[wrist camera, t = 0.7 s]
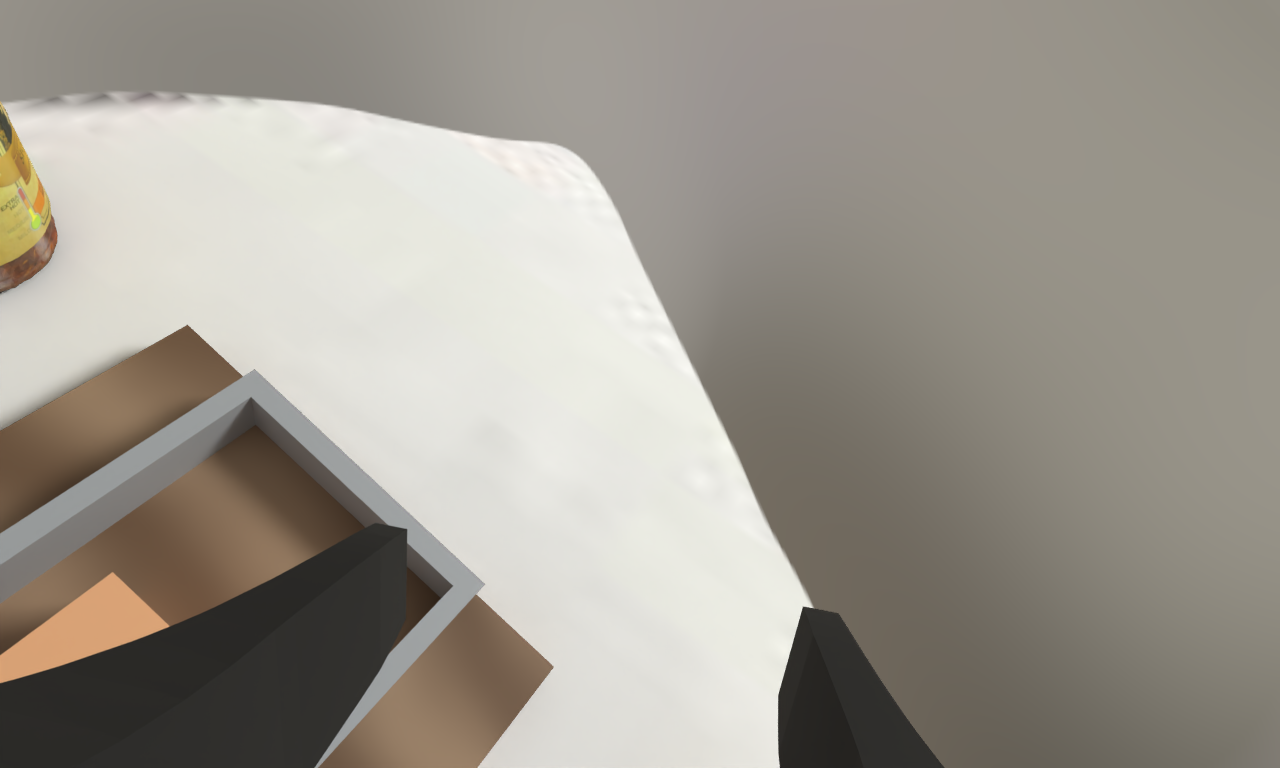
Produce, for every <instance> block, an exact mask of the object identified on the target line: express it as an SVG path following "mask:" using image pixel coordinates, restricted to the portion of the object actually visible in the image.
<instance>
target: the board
mask: <svg viewBox="0 0 1280 768" xmlns="http://www.w3.org/2000/svg"><path fill="white" fill-rule="evenodd" d="M242 377H243V376H242V375H241V374H240V373H239V372H237V371H236V370H235V369H234V368H233V367H232V366H231V365H230V364H229V363H228V362H227V361H226V360H225V359H224V358H222V357H221V356H220V355H219V354H218V353H217V352H216V351H215V350H214V349H213V348H212V347H211V346H210V345H209V344H207V343H206V342H205V341H204V340H203V339H202V338H201V337H200V336H199V335H198V334H197V333H196V332H195V331H194V330H192V329H191V328H190V327H189V326H188V325H187V326H185V327H183V328H181V329H179V330H178V331H176V332H174V333H172V334H171V335H169V336H167V337H165V338H164V339H162V340H160V341H158V342H156V343H155V344H153V345H151V346H149V347H148V348H146V349H144V350H142V351H141V352H139V353H137V354H135V355H134V356H132V357H130V358H128V359H126V360H125V361H123V362H121V363H119V364H118V365H116V366H114V367H112V368H111V369H109V370H107V371H105V372H104V373H102V374H100V375H98V376H96V377H95V378H93V379H91V380H89V381H88V382H86V383H84V384H82V385H81V386H79V387H77V388H75V389H73V390H72V391H70V392H68V393H66V394H65V395H63V396H61V397H59V398H58V399H56V400H54V401H52V402H51V403H49V404H47V405H45V406H43V407H42V408H40V409H38V410H36V411H35V412H33V413H31V414H29V415H28V416H26V417H24V418H22V419H20V420H19V421H17V422H15V423H13V424H12V425H10V426H8V427H6V428H5V429H3V430H1V431H0V533H2V532H3V531H5V530H6V529H8V528H10V527H11V526H13V525H14V524H16V523H17V522H19V521H20V520H22V519H24V518H25V517H27V516H28V515H30V514H31V513H33V512H34V511H36V510H37V509H39V508H41V507H42V506H44V505H45V504H47V503H48V502H50V501H51V500H53V499H54V498H56V497H58V496H59V495H61V494H62V493H64V492H65V491H67V490H68V489H70V488H72V487H73V486H75V485H76V484H78V483H79V482H81V481H82V480H84V479H85V478H87V477H89V476H90V475H92V474H93V473H95V472H96V471H98V470H99V469H101V468H102V467H104V466H106V465H107V464H109V463H110V462H112V461H113V460H115V459H116V458H118V457H120V456H121V455H123V454H124V453H126V452H127V451H129V450H130V449H132V448H133V447H135V446H137V445H138V444H140V443H141V442H143V441H144V440H146V439H147V438H149V437H151V436H152V435H154V434H155V433H157V432H158V431H160V430H161V429H163V428H164V427H166V426H168V425H169V424H171V423H172V422H174V421H175V420H177V419H178V418H180V417H181V416H183V415H185V414H186V413H188V412H189V411H191V410H192V409H194V408H195V407H197V406H199V405H200V404H202V403H203V402H205V401H206V400H208V399H209V398H211V397H212V396H214V395H216V394H217V393H219V392H220V391H222V390H223V389H225V388H226V387H228V386H229V385H231V384H233V383H234V382H236V381H237V380H239V379H240V378H242ZM364 528H366V527H364V526H363V525H362V524H361V523H360V522H359V521H358V520H357V519H356V518H355V517H354V516H353V515H352V514H351V513H349V512H348V511H347V510H346V509H345V508H344V507H343V506H342V505H341V504H340V503H339V502H338V501H337V500H336V499H335V498H333V497H332V496H331V495H330V494H329V493H328V492H327V491H326V490H325V489H324V488H323V487H322V486H321V485H320V484H318V483H317V482H316V481H315V480H314V479H313V478H312V477H311V476H310V475H309V474H308V473H307V472H306V471H305V470H304V469H302V468H301V467H300V466H299V465H298V464H297V463H296V462H295V461H294V460H293V459H292V458H291V457H290V456H289V455H287V454H286V453H285V452H284V451H283V450H282V449H281V448H280V447H279V446H278V445H277V444H276V443H275V442H274V441H272V440H271V439H270V438H269V437H268V436H267V435H266V434H265V433H264V432H263V431H262V430H261V429H260V428H259V427H258V426H256V425H255V426H253V427H252V428H250V429H249V430H247V431H246V432H245V433H243V434H242V435H240V436H239V437H237V438H236V439H235V440H233V441H232V442H230V443H229V444H227V445H226V446H225V447H223V448H222V449H220V450H219V451H217V452H216V453H215V454H213V455H212V456H210V457H209V458H207V459H206V460H205V461H203V462H202V463H200V464H199V465H197V466H196V467H195V468H193V469H192V470H190V471H189V472H187V473H186V474H185V475H183V476H182V477H180V478H179V479H177V480H176V481H175V482H173V483H172V484H170V485H169V486H167V487H166V488H165V489H163V490H162V491H160V492H159V493H157V494H156V495H155V496H153V497H152V498H150V499H149V500H147V501H146V502H145V503H143V504H142V505H140V506H139V507H137V508H136V509H135V510H133V511H132V512H130V513H129V514H127V515H126V516H125V517H123V518H122V519H120V520H119V521H117V522H116V523H115V524H113V525H112V526H110V527H109V528H107V529H106V530H105V531H103V532H102V533H100V534H99V535H97V536H96V537H95V538H93V539H92V540H90V541H89V542H87V543H86V544H85V545H83V546H82V547H80V548H79V549H77V550H76V551H75V552H73V553H72V554H70V555H69V556H67V557H66V558H65V559H63V560H62V561H60V562H59V563H57V564H56V565H55V566H53V567H52V568H50V569H49V570H47V571H46V572H45V573H43V574H42V575H40V576H39V577H37V578H36V579H35V580H33V581H32V582H30V583H29V584H27V585H26V586H25V587H23V588H22V589H20V590H19V591H17V592H16V593H15V594H13V595H12V596H10V597H9V598H7V599H6V600H5V601H3V602H2V603H0V655H1V654H3V653H4V652H5V651H7V650H8V649H9V648H11V647H12V646H14V645H15V644H16V643H18V642H19V641H20V640H22V639H23V638H24V637H26V636H27V635H28V634H30V633H31V632H32V631H34V630H35V629H36V628H38V627H39V626H41V625H42V624H43V623H45V622H46V621H47V620H49V619H50V618H51V617H53V616H54V615H55V614H57V613H58V612H59V611H61V610H62V609H63V608H65V607H66V606H68V605H69V604H70V603H72V602H73V601H74V600H76V599H77V598H78V597H80V596H81V595H82V594H84V593H85V592H86V591H88V590H89V589H91V588H92V587H93V586H95V585H96V584H97V583H99V582H100V581H101V580H103V579H104V578H105V577H107V576H108V575H109V574H111V573H112V572H113V573H114V574H115V575H116V576H117V577H118V578H120V579H121V580H122V581H123V582H124V583H125V584H126V585H127V586H128V587H129V588H130V589H131V590H132V591H133V592H134V593H135V594H136V595H137V596H138V597H140V598H141V599H142V600H143V601H144V602H145V603H146V604H147V605H148V606H149V607H150V608H151V609H152V610H153V611H154V612H155V613H156V614H157V615H158V616H160V617H161V618H162V619H163V620H164V621H165V622H166V623H167V624H168V625H169V626H172V625H174V624H177V623H179V622H182V621H184V620H186V619H189V618H191V617H193V616H196V615H198V614H200V613H203V612H205V611H207V610H209V609H211V608H214V607H216V606H218V605H220V604H222V603H224V602H226V601H228V600H230V599H232V598H234V597H236V596H238V595H240V594H242V593H244V592H246V591H248V590H250V589H252V588H254V587H256V586H258V585H260V584H262V583H264V582H267V581H269V580H271V579H273V578H274V577H276V576H278V575H280V574H282V573H284V572H286V571H287V570H289V569H291V568H293V567H295V566H297V565H299V564H300V563H302V562H304V561H306V560H308V559H310V558H311V557H313V556H315V555H317V554H319V553H321V552H322V551H324V550H326V549H328V548H330V547H331V546H333V545H335V544H337V543H338V542H340V541H342V540H344V539H346V538H347V537H349V536H351V535H353V534H355V533H357V532H358V531H360V530H362V529H364ZM440 599H441V598H440V597H439V596H438V595H437V594H436V593H435V592H434V591H433V590H432V589H431V588H430V587H429V586H428V585H426V584H425V583H424V582H423V581H422V580H421V579H420V578H419V577H418V576H417V575H416V574H415V573H414V572H413V571H411V570H410V569H409V568H408V567H407V584H406V620H405V622H404V624H403V626H402V628H401V630H400V632H399V634H398V636H397V638H396V640H395V642H394V644H393V647H392V648H391V650H390V652H391V651H392V650H393V649H394V648H395V647H396V646H397V645H398V644H399V643H400V642H401V641H402V640H403V639H404V637H405V636H406V635H407V634H408V633H409V632H410V631H411V630H412V629H413V628H414V627H415V626H416V625H417V624H418V623H419V622H420V621H421V619H422V618H423V617H424V616H425V615H426V614H427V613H428V612H429V611H430V610H431V609H432V608H433V607H434V606H435V605H436V604H437V603H438V601H439V600H440ZM390 652H389V653H390ZM552 669H553V666H552V665H551V664H550V663H549V662H548V661H547V660H546V659H545V658H544V657H543V656H542V655H541V654H540V653H538V652H537V651H536V650H535V649H534V648H533V647H532V646H531V645H530V644H529V643H528V642H527V641H526V640H525V639H523V638H522V637H521V636H520V635H519V634H518V633H517V632H516V631H515V630H514V629H513V628H512V627H511V626H510V625H508V624H507V623H506V622H505V621H504V620H503V619H502V618H501V617H500V616H499V615H498V614H497V613H496V612H495V611H493V610H492V609H491V608H490V607H489V606H488V605H487V604H486V603H485V602H484V601H483V600H482V599H481V598H480V597H478V596H477V595H475V596H474V597H473V598H472V599H471V600H470V601H469V602H468V603H467V605H466V606H465V607H464V608H463V609H462V610H461V611H460V612H459V613H458V614H457V616H456V617H455V618H454V619H453V620H452V621H451V622H450V623H449V624H448V625H447V627H446V628H445V629H444V630H443V631H442V632H441V633H440V634H439V635H438V636H437V638H436V639H435V640H434V641H433V642H432V643H431V644H430V645H429V646H428V647H427V649H426V650H425V651H424V652H423V653H422V654H421V655H420V656H419V657H418V658H417V659H416V661H415V662H414V663H413V664H412V665H411V666H410V667H409V668H408V669H407V670H406V672H405V673H404V674H403V675H402V676H401V677H400V678H399V679H398V680H397V681H396V683H395V684H394V685H393V686H392V687H391V688H390V689H389V690H388V691H387V692H386V694H385V695H384V696H383V697H382V698H381V699H380V700H379V701H378V702H377V703H376V705H375V706H374V707H373V708H372V709H371V710H370V711H369V712H368V713H367V714H366V716H365V717H364V718H363V719H362V720H361V721H360V722H359V723H358V724H357V725H356V726H355V728H354V729H353V730H352V731H351V732H350V733H349V734H348V735H347V736H346V737H345V739H344V740H343V741H342V742H341V743H340V744H339V745H338V746H337V747H336V748H335V750H334V751H333V752H332V753H331V754H330V755H329V756H328V757H327V758H326V759H325V761H324V762H323V763H322V764H321V765H320V766H319V767H318V768H477V767H478V766H479V765H480V763H481V762H482V761H483V759H484V758H485V757H486V755H487V754H488V753H489V751H490V750H491V749H492V748H493V746H494V745H495V744H496V742H497V741H498V740H499V738H500V737H501V736H502V734H503V733H504V732H505V730H506V729H507V728H508V727H509V725H510V724H511V723H512V721H513V720H514V719H515V717H516V716H517V715H518V713H519V712H520V711H521V709H522V708H523V707H524V705H525V704H526V703H527V702H528V700H529V699H530V698H531V696H532V695H533V694H534V692H535V691H536V690H537V688H538V687H539V686H540V684H541V683H542V682H543V681H544V679H545V678H546V677H547V675H548V674H549V673H550V671H551V670H552Z"/></svg>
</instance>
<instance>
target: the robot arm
mask: <svg viewBox="0 0 1280 768" xmlns="http://www.w3.org/2000/svg"><path fill="white" fill-rule="evenodd" d="M406 584H407V529H405V528H400V527H395V526H389V525H384V524H379V523H374V524H372V525H370V526H368V527H366V528H364V529H362V530H360V531H358V532H357V533H355V534H353V535H351V536H349V537H347V538H346V539H344V540H342V541H340V542H338V543H337V544H335V545H333V546H331V547H330V548H328V549H326V550H324V551H322V552H321V553H319V554H317V555H315V556H313V557H311V558H310V559H308V560H306V561H304V562H302V563H300V564H299V565H297V566H295V567H293V568H291V569H289V570H287V571H286V572H284V573H282V574H280V575H278V576H276V577H274V578H273V579H271V580H269V581H267V582H264V583H262V584H260V585H258V586H256V587H254V588H252V589H250V590H248V591H246V592H244V593H242V594H240V595H238V596H236V597H234V598H232V599H230V600H228V601H226V602H224V603H222V604H220V605H218V606H216V607H214V608H211V609H209V610H207V611H205V612H203V613H200V614H198V615H196V616H193V617H191V618H189V619H186V620H184V621H182V622H179V623H177V624H174V625H172V626H169V627H167V628H165V629H162V630H160V631H157V632H155V633H152V634H150V635H147V636H145V637H142V638H139V639H137V640H134V641H131V642H128V643H125V644H123V645H120V646H117V647H114V648H111V649H108V650H105V651H102V652H99V653H96V654H93V655H90V656H88V657H85V658H82V659H79V660H76V661H73V662H70V663H67V664H64V665H61V666H58V667H55V668H51V669H48V670H45V671H41V672H38V673H34V674H31V675H28V676H24V677H21V678H17V679H14V680H10V681H6V682H3V683H0V768H315V767H316V765H317V764H318V762H319V761H320V759H321V758H322V756H323V755H324V753H325V752H326V750H327V749H328V747H329V746H330V744H331V743H332V741H333V740H334V738H335V737H336V736H337V734H338V733H339V731H340V730H341V728H342V727H343V725H344V724H345V722H346V721H347V719H348V718H349V716H350V715H351V713H352V712H353V710H354V709H355V707H356V706H357V704H358V703H359V701H360V700H361V698H362V697H363V695H364V694H365V692H366V691H367V689H368V688H369V686H370V685H371V683H372V682H373V680H374V679H375V677H376V676H377V674H378V673H379V671H380V670H381V668H382V666H383V664H384V662H385V660H386V658H387V656H388V654H389V652H390V650H391V648H392V647H393V644H394V642H395V640H396V638H397V636H398V634H399V632H400V630H401V628H402V626H403V624H404V622H405V620H406ZM778 751H779V762H780V768H944V767H943V766H942V764H941V763H940V762H939V760H938V759H937V758H936V757H935V755H934V754H933V753H932V751H931V750H930V749H929V747H928V746H927V745H926V744H925V742H924V741H923V740H922V738H921V737H920V736H919V734H918V733H917V732H916V730H915V729H914V728H913V726H912V725H911V724H910V722H909V721H908V719H907V718H906V716H905V715H904V714H903V712H902V711H901V709H900V708H899V706H898V705H897V703H896V702H895V700H894V699H893V698H892V696H891V695H890V693H889V692H888V690H887V689H886V687H885V686H884V684H883V683H882V681H881V680H880V678H879V677H878V675H877V674H876V672H875V670H874V669H873V667H872V666H871V664H870V663H869V661H868V659H867V658H866V657H865V655H864V653H863V652H862V650H861V648H860V647H859V645H858V644H857V642H856V640H855V639H854V637H853V636H852V634H851V632H850V631H849V629H848V627H847V626H846V624H845V623H844V622H843V620H842V618H841V617H840V615H839V614H838V613H833V612H828V611H824V610H818V609H814V608H808V607H803V609H802V613H801V616H800V620H799V623H798V627H797V630H796V634H795V638H794V641H793V645H792V648H791V652H790V655H789V659H788V663H787V666H786V670H785V673H784V677H783V680H782V684H781V688H780V691H779V695H778Z"/></svg>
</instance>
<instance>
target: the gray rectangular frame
mask: <svg viewBox="0 0 1280 768" xmlns="http://www.w3.org/2000/svg"><path fill="white" fill-rule="evenodd" d="M255 425H256V426H258V427H259V428H260V429H261V430H262V431H263V432H264V433H265V434H266V435H267V436H268V437H269V438H270V439H271V440H272V441H274V442H275V443H276V444H277V445H278V446H279V447H280V448H281V449H282V450H283V451H284V452H285V453H286V454H287V455H289V456H290V457H291V458H292V459H293V460H294V461H295V462H296V463H297V464H298V465H299V466H300V467H301V468H302V469H304V470H305V471H306V472H307V473H308V474H309V475H310V476H311V477H312V478H313V479H314V480H315V481H316V482H317V483H318V484H320V485H321V486H322V487H323V488H324V489H325V490H326V491H327V492H328V493H329V494H330V495H331V496H332V497H333V498H335V499H336V500H337V501H338V502H339V503H340V504H341V505H342V506H343V507H344V508H345V509H346V510H347V511H348V512H349V513H351V514H352V515H353V516H354V517H355V518H356V519H357V520H358V521H359V522H360V523H361V524H362V525H363V526H364V527H368V526H370V525H372V524H374V523H379V524H384V525H389V526H395V527H400V528H405V529H407V567H408V568H409V569H410V570H411V571H413V572H414V573H415V574H416V575H417V576H418V577H419V578H420V579H421V580H422V581H423V582H424V583H425V584H426V585H428V586H429V587H430V588H431V589H432V590H433V591H434V592H435V593H436V594H437V595H438V596H439V597H440V598H441V599H440V600H439V601H438V603H437V604H436V605H435V606H434V607H433V608H432V609H431V610H430V611H429V612H428V613H427V614H426V615H425V616H424V617H423V618H422V619H421V621H420V622H419V623H418V624H417V625H416V626H415V627H414V628H413V629H412V630H411V631H410V632H409V633H408V634H407V635H406V636H405V637H404V639H403V640H402V641H401V642H400V643H399V644H398V645H397V646H396V647H395V648H394V649H393V650H392V651H391V652H390V653H389V654H388V656H387V658H386V660H385V662H384V664H383V666H382V668H381V670H380V671H379V673H378V674H377V676H376V677H375V679H374V680H373V682H372V683H371V685H370V686H369V688H368V689H367V691H366V692H365V694H364V695H363V697H362V698H361V700H360V701H359V703H358V704H357V706H356V707H355V709H354V710H353V712H352V713H351V715H350V716H349V718H348V719H347V721H346V722H345V724H344V725H343V727H342V728H341V730H340V731H339V733H338V734H337V736H336V737H335V738H334V740H333V741H332V743H331V744H330V746H329V747H328V749H327V750H326V752H325V753H324V755H323V756H322V758H321V759H320V761H319V762H318V764H317V765H316V767H315V768H318V767H319V766H320V765H321V764H322V763H323V762H324V761H325V759H326V758H327V757H328V756H329V755H330V754H331V753H332V752H333V751H334V750H335V748H336V747H337V746H338V745H339V744H340V743H341V742H342V741H343V740H344V739H345V737H346V736H347V735H348V734H349V733H350V732H351V731H352V730H353V729H354V728H355V726H356V725H357V724H358V723H359V722H360V721H361V720H362V719H363V718H364V717H365V716H366V714H367V713H368V712H369V711H370V710H371V709H372V708H373V707H374V706H375V705H376V703H377V702H378V701H379V700H380V699H381V698H382V697H383V696H384V695H385V694H386V692H387V691H388V690H389V689H390V688H391V687H392V686H393V685H394V684H395V683H396V681H397V680H398V679H399V678H400V677H401V676H402V675H403V674H404V673H405V672H406V670H407V669H408V668H409V667H410V666H411V665H412V664H413V663H414V662H415V661H416V659H417V658H418V657H419V656H420V655H421V654H422V653H423V652H424V651H425V650H426V649H427V647H428V646H429V645H430V644H431V643H432V642H433V641H434V640H435V639H436V638H437V636H438V635H439V634H440V633H441V632H442V631H443V630H444V629H445V628H446V627H447V625H448V624H449V623H450V622H451V621H452V620H453V619H454V618H455V617H456V616H457V614H458V613H459V612H460V611H461V610H462V609H463V608H464V607H465V606H466V605H467V603H468V602H469V601H470V600H471V599H472V598H473V597H474V596H475V595H476V594H477V592H478V591H479V590H480V589H481V588H482V587H483V586H484V585H485V584H484V583H483V582H482V581H481V580H480V579H479V578H478V577H477V576H476V575H475V574H474V573H473V572H471V571H470V570H469V569H468V568H467V567H466V566H465V565H464V564H463V563H462V562H461V561H460V560H459V559H458V558H456V557H455V556H454V555H453V554H452V553H451V552H450V551H449V550H448V549H447V548H446V547H445V546H444V545H443V544H441V543H440V542H439V541H438V540H437V539H436V538H435V537H434V536H433V535H432V534H431V533H430V532H429V531H428V530H426V529H425V528H424V527H423V526H422V525H421V524H420V523H419V522H418V521H417V520H416V519H415V518H414V517H413V516H411V515H410V514H409V513H408V512H407V511H406V510H405V509H404V508H403V507H402V506H401V505H400V504H399V503H397V502H396V501H395V500H394V499H393V498H392V497H391V496H390V495H389V494H388V493H387V492H386V491H385V490H384V489H382V488H381V487H380V486H379V485H378V484H377V483H376V482H375V481H374V480H373V479H372V478H371V477H370V476H369V475H367V474H366V473H365V472H364V471H363V470H362V469H361V468H360V467H359V466H358V465H357V464H356V463H355V462H354V461H352V460H351V459H350V458H349V457H348V456H347V455H346V454H345V453H344V452H343V451H342V450H341V449H340V448H339V447H337V446H336V445H335V444H334V443H333V442H332V441H331V440H330V439H329V438H328V437H327V436H326V435H325V434H323V433H322V432H321V431H320V430H319V429H318V428H317V427H316V426H315V425H314V424H313V423H312V422H311V421H310V420H308V419H307V418H306V417H305V416H304V415H303V414H302V413H301V412H300V411H299V410H298V409H297V408H296V407H295V406H293V405H292V404H291V403H290V402H289V401H288V400H287V399H286V398H285V397H284V396H283V395H282V394H281V393H280V392H278V391H277V390H276V389H275V388H274V387H273V386H272V385H271V384H270V383H269V382H268V381H267V380H266V379H265V378H263V377H262V376H261V375H260V374H259V373H258V372H257V371H256V370H255V369H254V370H253V371H251V372H250V373H248V374H247V375H245V376H243V377H242V378H240V379H239V380H237V381H236V382H234V383H233V384H231V385H229V386H228V387H226V388H225V389H223V390H222V391H220V392H219V393H217V394H216V395H214V396H212V397H211V398H209V399H208V400H206V401H205V402H203V403H202V404H200V405H199V406H197V407H195V408H194V409H192V410H191V411H189V412H188V413H186V414H185V415H183V416H181V417H180V418H178V419H177V420H175V421H174V422H172V423H171V424H169V425H168V426H166V427H164V428H163V429H161V430H160V431H158V432H157V433H155V434H154V435H152V436H151V437H149V438H147V439H146V440H144V441H143V442H141V443H140V444H138V445H137V446H135V447H133V448H132V449H130V450H129V451H127V452H126V453H124V454H123V455H121V456H120V457H118V458H116V459H115V460H113V461H112V462H110V463H109V464H107V465H106V466H104V467H102V468H101V469H99V470H98V471H96V472H95V473H93V474H92V475H90V476H89V477H87V478H85V479H84V480H82V481H81V482H79V483H78V484H76V485H75V486H73V487H72V488H70V489H68V490H67V491H65V492H64V493H62V494H61V495H59V496H58V497H56V498H54V499H53V500H51V501H50V502H48V503H47V504H45V505H44V506H42V507H41V508H39V509H37V510H36V511H34V512H33V513H31V514H30V515H28V516H27V517H25V518H24V519H22V520H20V521H19V522H17V523H16V524H14V525H13V526H11V527H10V528H8V529H6V530H5V531H3V532H2V533H0V603H2V602H3V601H5V600H6V599H7V598H9V597H10V596H12V595H13V594H15V593H16V592H17V591H19V590H20V589H22V588H23V587H25V586H26V585H27V584H29V583H30V582H32V581H33V580H35V579H36V578H37V577H39V576H40V575H42V574H43V573H45V572H46V571H47V570H49V569H50V568H52V567H53V566H55V565H56V564H57V563H59V562H60V561H62V560H63V559H65V558H66V557H67V556H69V555H70V554H72V553H73V552H75V551H76V550H77V549H79V548H80V547H82V546H83V545H85V544H86V543H87V542H89V541H90V540H92V539H93V538H95V537H96V536H97V535H99V534H100V533H102V532H103V531H105V530H106V529H107V528H109V527H110V526H112V525H113V524H115V523H116V522H117V521H119V520H120V519H122V518H123V517H125V516H126V515H127V514H129V513H130V512H132V511H133V510H135V509H136V508H137V507H139V506H140V505H142V504H143V503H145V502H146V501H147V500H149V499H150V498H152V497H153V496H155V495H156V494H157V493H159V492H160V491H162V490H163V489H165V488H166V487H167V486H169V485H170V484H172V483H173V482H175V481H176V480H177V479H179V478H180V477H182V476H183V475H185V474H186V473H187V472H189V471H190V470H192V469H193V468H195V467H196V466H197V465H199V464H200V463H202V462H203V461H205V460H206V459H207V458H209V457H210V456H212V455H213V454H215V453H216V452H217V451H219V450H220V449H222V448H223V447H225V446H226V445H227V444H229V443H230V442H232V441H233V440H235V439H236V438H237V437H239V436H240V435H242V434H243V433H245V432H246V431H247V430H249V429H250V428H252V427H253V426H255Z"/></svg>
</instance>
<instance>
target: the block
mask: <svg viewBox="0 0 1280 768" xmlns="http://www.w3.org/2000/svg"><path fill="white" fill-rule="evenodd" d="M167 627H169V625H168V624H167V623H166V622H165V621H164V620H163V619H162V618H161V617H160V616H158V615H157V614H156V613H155V612H154V611H153V610H152V609H151V608H150V607H149V606H148V605H147V604H146V603H145V602H144V601H143V600H142V599H141V598H140V597H138V596H137V595H136V594H135V593H134V592H133V591H132V590H131V589H130V588H129V587H128V586H127V585H126V584H125V583H124V582H123V581H122V580H121V579H120V578H118V577H117V576H116V575H115V574H114V573H113V572H112V573H111V574H109V575H108V576H107V577H105V578H104V579H103V580H101V581H100V582H99V583H97V584H96V585H95V586H93V587H92V588H91V589H89V590H88V591H86V592H85V593H84V594H82V595H81V596H80V597H78V598H77V599H76V600H74V601H73V602H72V603H70V604H69V605H68V606H66V607H65V608H63V609H62V610H61V611H59V612H58V613H57V614H55V615H54V616H53V617H51V618H50V619H49V620H47V621H46V622H45V623H43V624H42V625H41V626H39V627H38V628H36V629H35V630H34V631H32V632H31V633H30V634H28V635H27V636H26V637H24V638H23V639H22V640H20V641H19V642H18V643H16V644H15V645H14V646H12V647H11V648H9V649H8V650H7V651H5V652H4V653H3V654H1V655H0V683H3V682H6V681H10V680H14V679H17V678H21V677H24V676H28V675H31V674H34V673H38V672H41V671H45V670H48V669H51V668H55V667H58V666H61V665H64V664H67V663H70V662H73V661H76V660H79V659H82V658H85V657H88V656H90V655H93V654H96V653H99V652H102V651H105V650H108V649H111V648H114V647H117V646H120V645H123V644H125V643H128V642H131V641H134V640H137V639H139V638H142V637H145V636H147V635H150V634H152V633H155V632H157V631H160V630H162V629H165V628H167Z"/></svg>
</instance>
